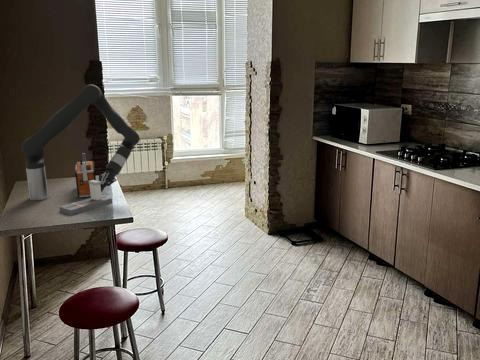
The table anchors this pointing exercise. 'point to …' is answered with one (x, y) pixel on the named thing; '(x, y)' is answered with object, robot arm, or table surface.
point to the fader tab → (95, 189)
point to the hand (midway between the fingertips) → (98, 191)
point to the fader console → (84, 205)
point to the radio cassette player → (84, 176)
